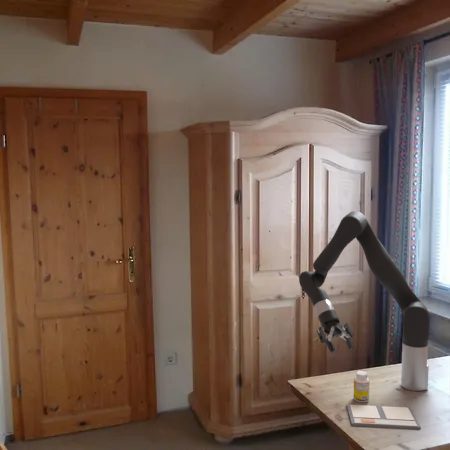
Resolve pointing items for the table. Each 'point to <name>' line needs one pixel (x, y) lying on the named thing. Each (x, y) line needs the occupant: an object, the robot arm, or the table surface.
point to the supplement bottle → (361, 387)
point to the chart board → (382, 416)
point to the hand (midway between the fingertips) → (342, 350)
